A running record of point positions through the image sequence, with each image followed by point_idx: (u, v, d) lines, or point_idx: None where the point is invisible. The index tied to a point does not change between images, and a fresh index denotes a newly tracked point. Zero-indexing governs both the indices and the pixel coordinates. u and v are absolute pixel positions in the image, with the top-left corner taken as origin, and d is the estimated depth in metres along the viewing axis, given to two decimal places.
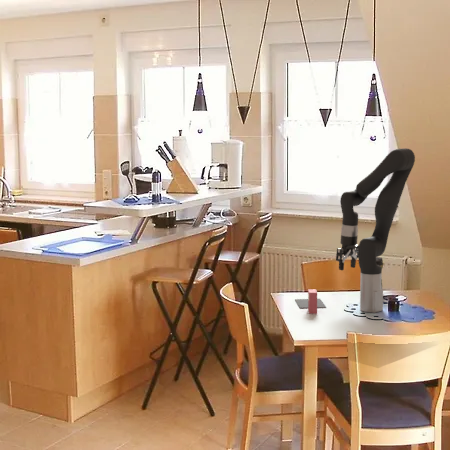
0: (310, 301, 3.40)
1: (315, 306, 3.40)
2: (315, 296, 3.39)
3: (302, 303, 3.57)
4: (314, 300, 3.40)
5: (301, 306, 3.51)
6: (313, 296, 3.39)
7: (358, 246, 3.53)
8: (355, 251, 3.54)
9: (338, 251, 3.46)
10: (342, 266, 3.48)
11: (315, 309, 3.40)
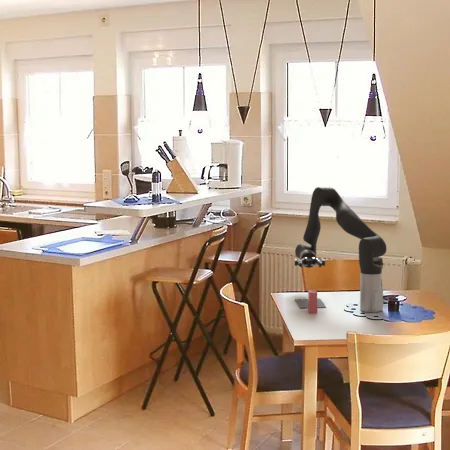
0: (310, 301, 3.40)
1: (315, 306, 3.40)
2: (315, 296, 3.39)
3: (302, 303, 3.57)
4: (314, 300, 3.40)
5: (301, 306, 3.51)
6: (313, 296, 3.39)
7: (321, 258, 3.61)
8: None
9: None
10: (300, 262, 3.54)
11: (315, 309, 3.40)
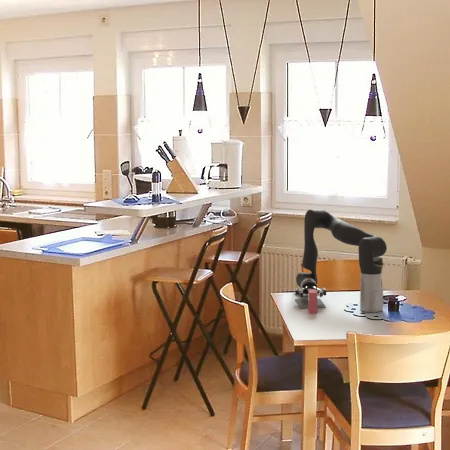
0: (310, 301, 3.40)
1: (315, 306, 3.40)
2: (315, 296, 3.39)
3: (302, 303, 3.57)
4: (314, 300, 3.40)
5: (301, 306, 3.51)
6: (313, 296, 3.39)
7: None
8: None
9: None
10: (301, 292, 3.51)
11: (315, 309, 3.40)
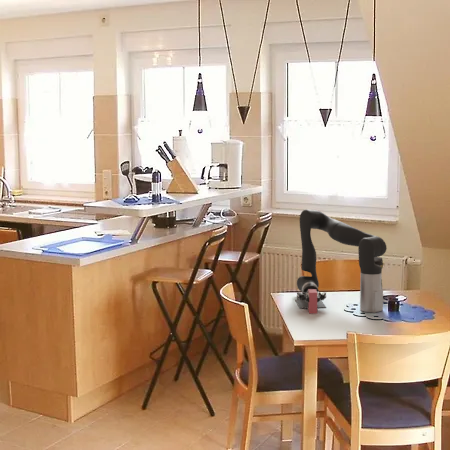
0: (310, 301, 3.40)
1: (315, 306, 3.40)
2: (315, 296, 3.39)
3: (302, 303, 3.57)
4: (314, 300, 3.40)
5: (301, 306, 3.51)
6: (313, 296, 3.39)
7: (324, 292, 3.49)
8: None
9: (297, 296, 3.49)
10: (307, 297, 3.42)
11: (315, 309, 3.40)
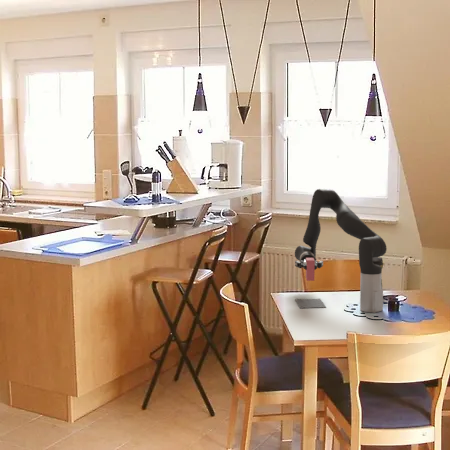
0: (308, 268, 3.51)
1: (312, 273, 3.52)
2: (312, 264, 3.51)
3: (302, 303, 3.57)
4: (311, 268, 3.51)
5: (301, 306, 3.51)
6: (310, 264, 3.51)
7: None
8: None
9: (295, 264, 3.60)
10: (304, 264, 3.54)
11: (312, 276, 3.52)
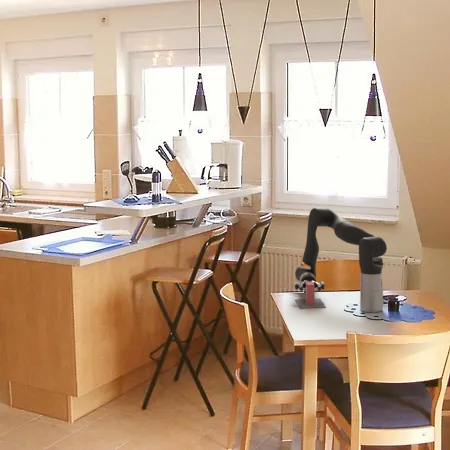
0: (308, 293, 3.54)
1: (312, 298, 3.54)
2: (312, 288, 3.53)
3: (302, 303, 3.57)
4: (311, 292, 3.53)
5: (301, 306, 3.51)
6: (310, 288, 3.53)
7: None
8: None
9: None
10: (300, 286, 3.56)
11: (312, 300, 3.54)
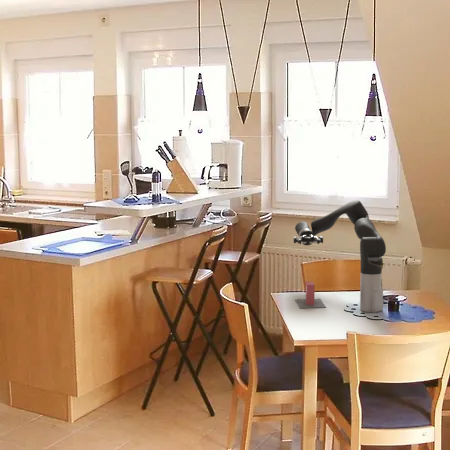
0: (308, 293, 3.54)
1: (312, 298, 3.54)
2: (312, 288, 3.53)
3: (302, 303, 3.57)
4: (311, 292, 3.53)
5: (301, 306, 3.51)
6: (310, 288, 3.53)
7: (319, 236, 3.74)
8: (319, 239, 3.72)
9: None
10: (299, 239, 3.67)
11: (312, 300, 3.54)
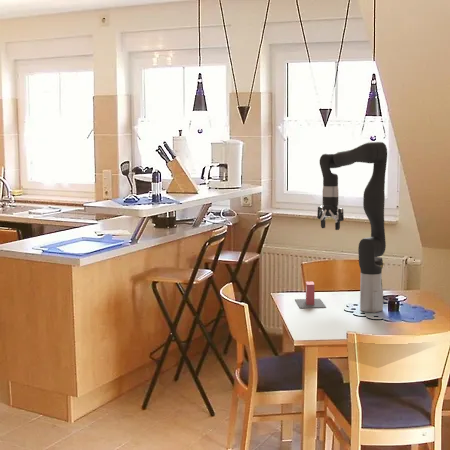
0: (308, 293, 3.54)
1: (312, 298, 3.54)
2: (312, 288, 3.53)
3: (302, 303, 3.57)
4: (311, 292, 3.53)
5: (301, 306, 3.51)
6: (310, 288, 3.53)
7: (338, 209, 3.61)
8: None
9: None
10: (321, 224, 3.70)
11: (312, 300, 3.54)
